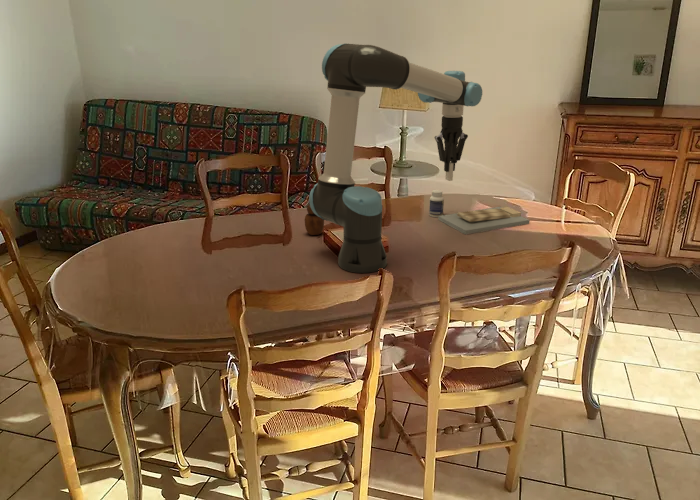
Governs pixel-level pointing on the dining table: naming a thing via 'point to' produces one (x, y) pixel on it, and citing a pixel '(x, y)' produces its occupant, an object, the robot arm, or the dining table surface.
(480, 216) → the plank
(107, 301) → the dining table surface
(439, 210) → the pill bottle
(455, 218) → the floor panel
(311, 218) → the wooden figurine
